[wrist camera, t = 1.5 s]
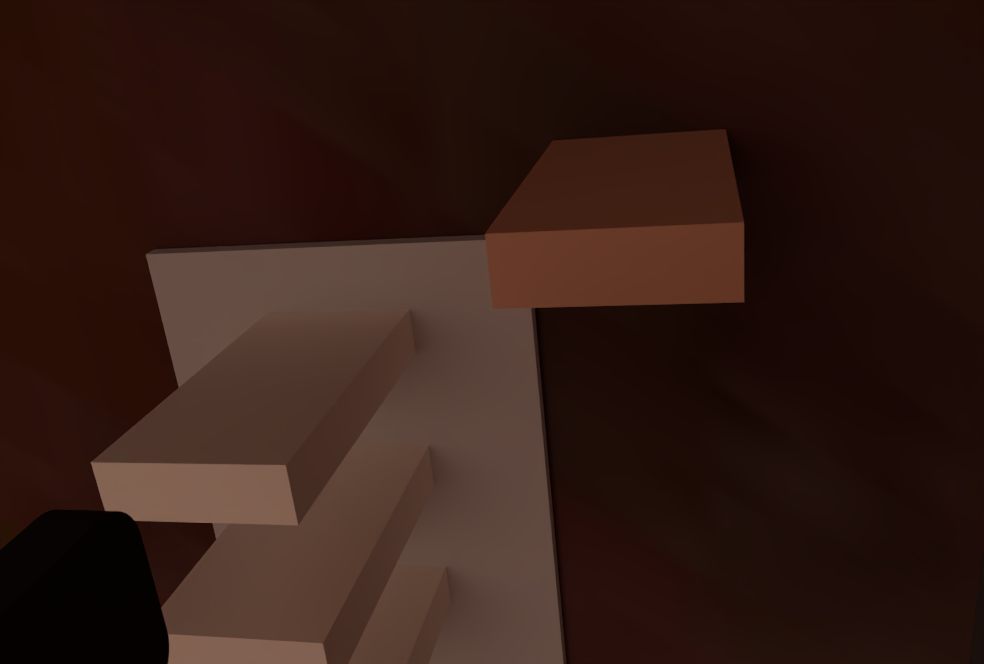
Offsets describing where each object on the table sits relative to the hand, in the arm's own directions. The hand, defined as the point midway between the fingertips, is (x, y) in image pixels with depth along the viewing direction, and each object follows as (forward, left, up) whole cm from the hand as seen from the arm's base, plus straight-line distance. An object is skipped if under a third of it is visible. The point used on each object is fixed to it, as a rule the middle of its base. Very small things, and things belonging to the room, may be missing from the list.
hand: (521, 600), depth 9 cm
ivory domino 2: (+10, +10, -20) cm, 24 cm away
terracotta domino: (0, 0, -20) cm, 20 cm away
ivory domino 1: (+10, +5, -20) cm, 23 cm away
